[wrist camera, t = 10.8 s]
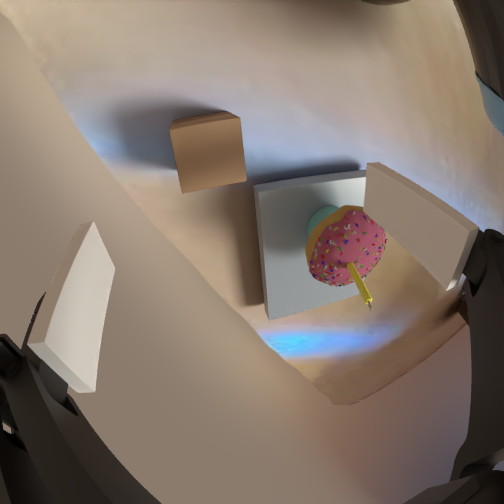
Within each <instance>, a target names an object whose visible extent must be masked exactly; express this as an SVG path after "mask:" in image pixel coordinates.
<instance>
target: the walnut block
mask: <svg viewBox="0 0 504 504" xmlns="http://www.w3.org/2000/svg"><path fill="white" fill-rule="evenodd" d="M170 135H171V141H172V146H173V151H174V156H175V161H176V166H177V171H178V176H179V181H180V186H181V190H182V194H184V193H188V192H193V191H198V190H202V189H207V188H212V187H217V186H222V185H228V184H233V183H239V182H244V181H247V178H246V168H245V159H244V149H243V140H242V131H241V121H240V117H238V116H236V115H234V114H232V113H230V112H228V111H224V112H217V113H211V114H205V115H199V116H194V117H189V118H184V119H179V120H174V121H172V124H171V127H170Z"/></svg>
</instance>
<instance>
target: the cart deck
mask: <svg viewBox="0 0 504 504" xmlns="http://www.w3.org/2000/svg"><path fill="white" fill-rule="evenodd" d="M365 185H366V170H358V171H348V172H339V173H331V174H323V175H315V176H308V177H301V178H294V179H287V180H281V181H275V182H269V183H263V184H257V185H253V188H254V198H255V209H256V219H257V229H258V240H259V250H260V261H261V272H262V283H263V294H264V305H265V312H266V314H267V317H268V319H269V321H271V320H274V319H278V318H282V317H286V316H289V315H293V314H296V313H300V312H303V311H307V310H310V309H314V308H317V307H320V306H324V305H327V304H330V303H333V302H336V301H340V300H343V299H346V298H349V297H352V296H355V295H358V294H360V292H359V290H358V288H357V286H356V284H355V282H354V283H351V284H349V285H346V286H343V285H342V286H340V287H339V286H338V285H337V287H336V286H333V285H332V286H329V284H325V283H323V282H320V281H317V280H316V279H315V278H313V276H312V275H311V274H310V272H309V267H308V264H307V259H306V254H305V247H306V245H307V242H308V236H307V226H308V223H309V221H310V219H311V217H312V216H313V215H314V214H315V213H316V212H317V211H318V210H320V209H322V208H324V207H328V206H335V207H338V208H340V207H342V206H344V205H353V206H361V207H364V197H365ZM361 279H362V280H363V282H364V277H363V278H361Z"/></svg>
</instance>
